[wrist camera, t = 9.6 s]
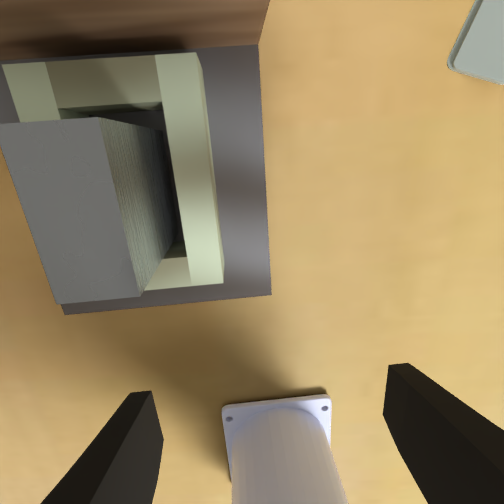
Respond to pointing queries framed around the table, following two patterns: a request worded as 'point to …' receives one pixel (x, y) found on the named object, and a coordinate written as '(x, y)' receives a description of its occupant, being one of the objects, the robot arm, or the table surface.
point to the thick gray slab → (93, 203)
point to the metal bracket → (481, 43)
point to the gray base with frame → (160, 120)
